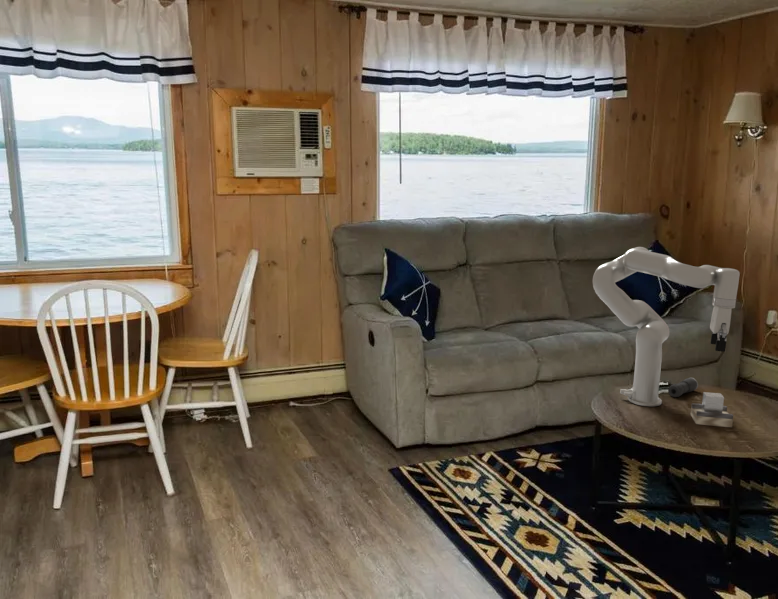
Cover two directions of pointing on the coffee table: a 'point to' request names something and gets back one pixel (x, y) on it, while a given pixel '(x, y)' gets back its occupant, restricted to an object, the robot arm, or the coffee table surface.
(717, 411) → the tall white block
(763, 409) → the coffee table surface
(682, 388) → the flashlight
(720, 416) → the cradle
